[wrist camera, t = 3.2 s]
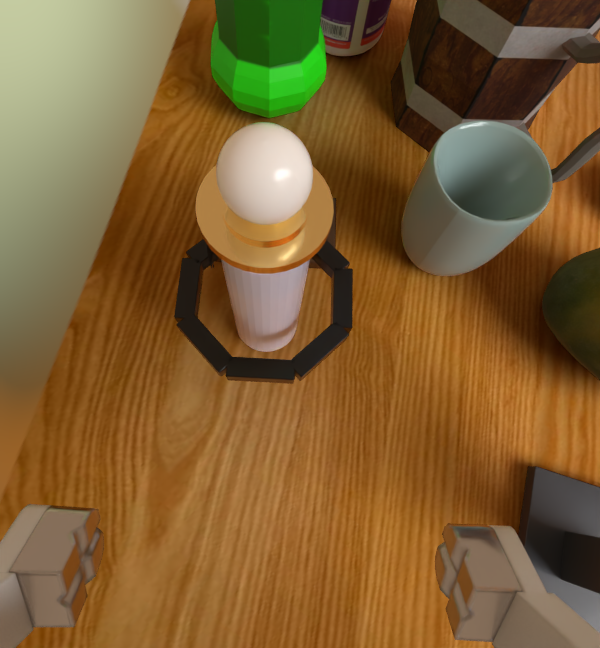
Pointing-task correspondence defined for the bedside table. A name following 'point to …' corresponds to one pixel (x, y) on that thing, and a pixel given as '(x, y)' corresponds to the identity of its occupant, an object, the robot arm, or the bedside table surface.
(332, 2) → the pill bottle
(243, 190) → the perfume bottle
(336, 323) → the ring stand
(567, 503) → the pedestal tray stand
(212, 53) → the plastic bottle
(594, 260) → the fruit
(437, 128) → the mug
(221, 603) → the bedside table surface
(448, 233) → the cup
